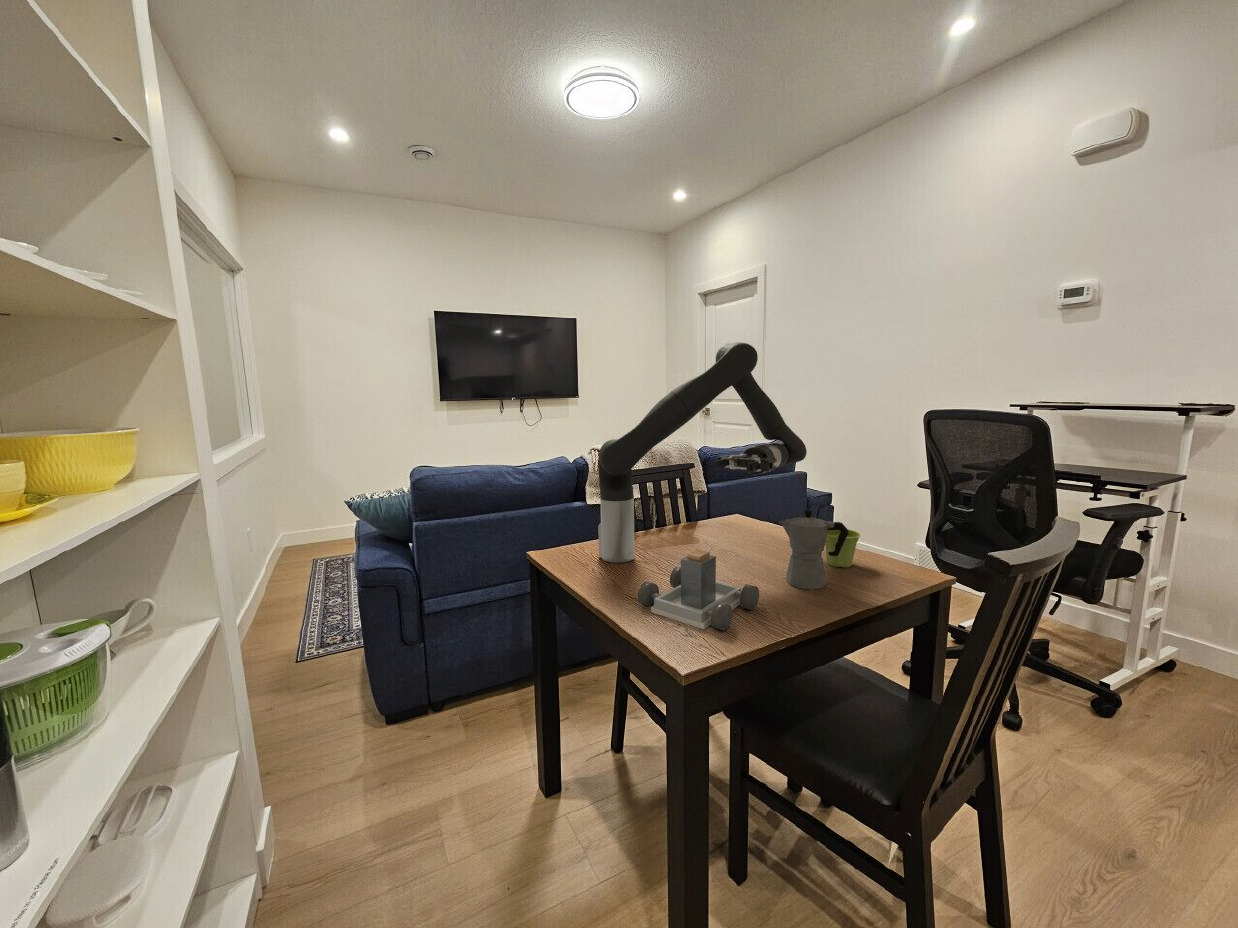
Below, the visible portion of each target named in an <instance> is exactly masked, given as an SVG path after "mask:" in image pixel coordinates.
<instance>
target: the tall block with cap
mask: <svg viewBox="0 0 1238 928" xmlns="http://www.w3.org/2000/svg"><path fill="white" fill-rule="evenodd" d="M710 553H711V552H709V551H706V550H701V549H696V550H693V551H691V552H690V553H687V555H686V556H684V557H682V558H681V559H680V567H681V604H684V605H687V606H690V607H694V608H697V609H700V610H701V609H703V608H705V607H706V606H708V605H709V604H711V603H712V602H714V601H715V600H716V582H717V580H716V579H717V575H716V574H717V572H716V571H717V567H716V566H717V556H716V555H711V554H710Z"/></svg>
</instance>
